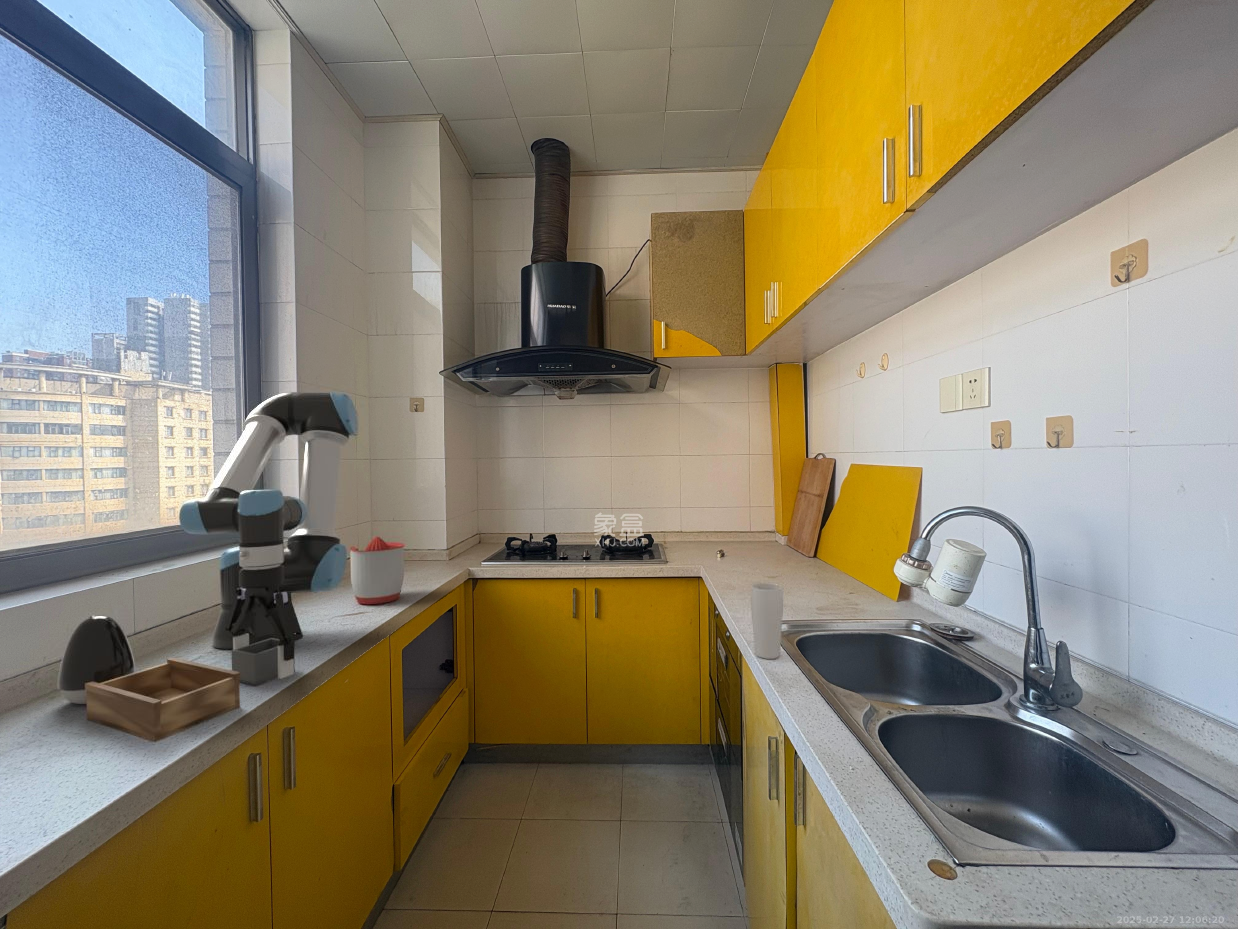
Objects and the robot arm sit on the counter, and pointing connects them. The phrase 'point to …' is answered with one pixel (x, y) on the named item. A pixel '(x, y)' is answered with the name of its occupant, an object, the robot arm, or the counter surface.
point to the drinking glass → (767, 618)
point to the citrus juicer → (377, 571)
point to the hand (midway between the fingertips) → (263, 671)
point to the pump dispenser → (94, 657)
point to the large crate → (163, 698)
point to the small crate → (257, 662)
